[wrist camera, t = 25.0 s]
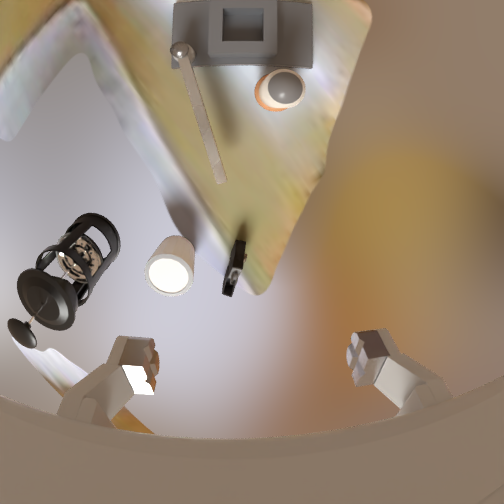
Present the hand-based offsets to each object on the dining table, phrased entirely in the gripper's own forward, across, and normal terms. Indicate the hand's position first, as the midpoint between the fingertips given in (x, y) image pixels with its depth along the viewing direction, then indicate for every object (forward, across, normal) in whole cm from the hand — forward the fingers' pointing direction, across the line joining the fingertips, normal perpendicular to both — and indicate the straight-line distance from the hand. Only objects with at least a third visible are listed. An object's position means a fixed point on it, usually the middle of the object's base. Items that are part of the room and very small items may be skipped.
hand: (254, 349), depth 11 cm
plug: (+31, -4, -11) cm, 33 cm away
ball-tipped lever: (+27, +5, -9) cm, 29 cm away
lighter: (+31, +1, +14) cm, 34 cm away
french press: (+31, +24, +10) cm, 41 cm away
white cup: (+31, +10, +12) cm, 35 cm away
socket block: (+31, 0, -20) cm, 37 cm away
